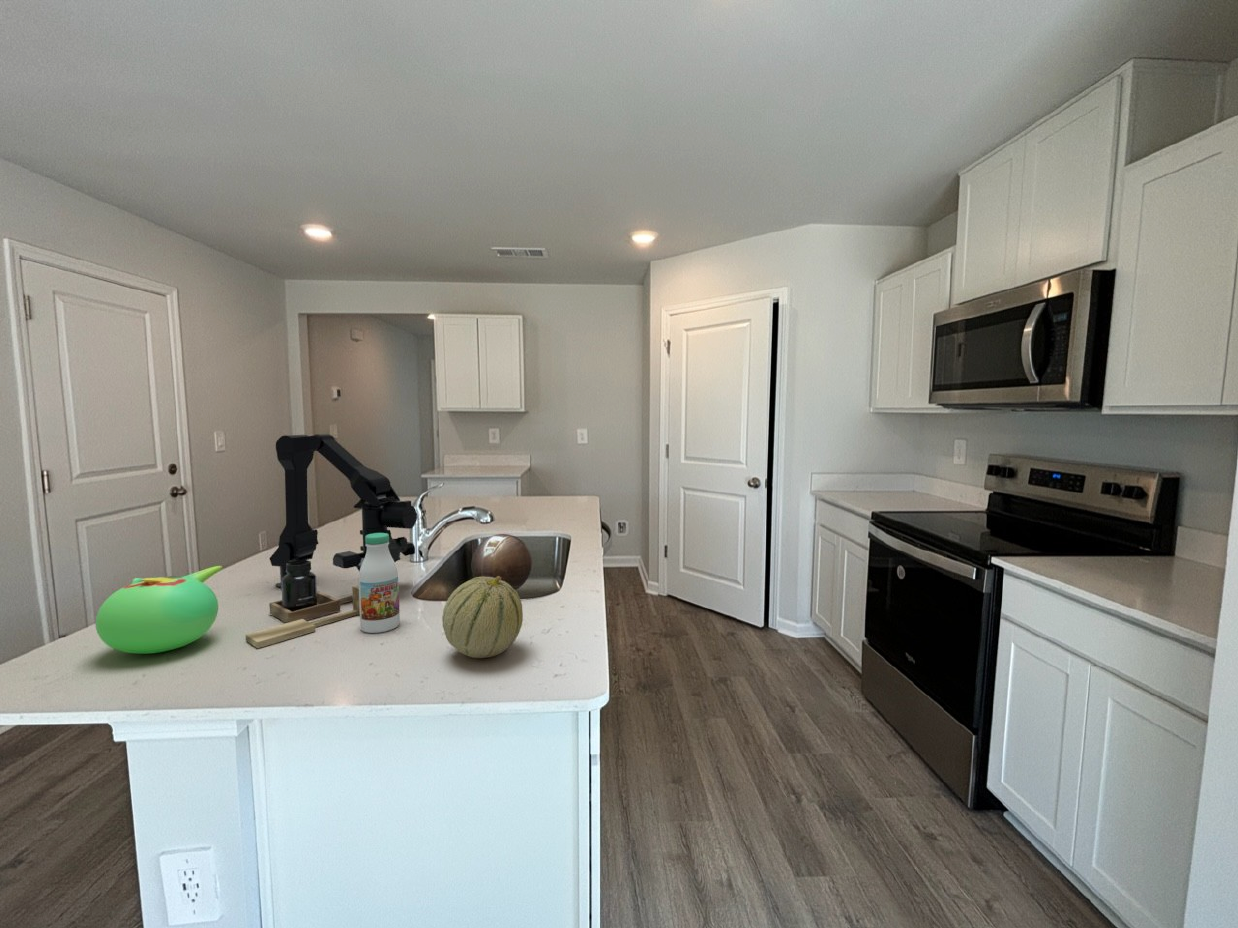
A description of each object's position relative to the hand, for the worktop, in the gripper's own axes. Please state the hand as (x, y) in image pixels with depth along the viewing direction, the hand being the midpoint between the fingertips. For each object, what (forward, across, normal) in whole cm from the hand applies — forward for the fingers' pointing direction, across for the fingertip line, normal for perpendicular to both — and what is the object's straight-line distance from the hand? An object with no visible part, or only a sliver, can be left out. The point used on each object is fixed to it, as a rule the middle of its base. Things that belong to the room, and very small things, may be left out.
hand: (376, 587), depth 137 cm
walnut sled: (+2, -10, 0) cm, 11 cm away
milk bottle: (+2, -11, -21) cm, 24 cm away
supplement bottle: (+2, -18, 0) cm, 18 cm away
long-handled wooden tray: (+2, -19, -10) cm, 22 cm away
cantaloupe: (+2, -6, -49) cm, 49 cm away
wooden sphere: (+2, +20, -24) cm, 31 cm away
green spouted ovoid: (+2, -42, +2) cm, 42 cm away
